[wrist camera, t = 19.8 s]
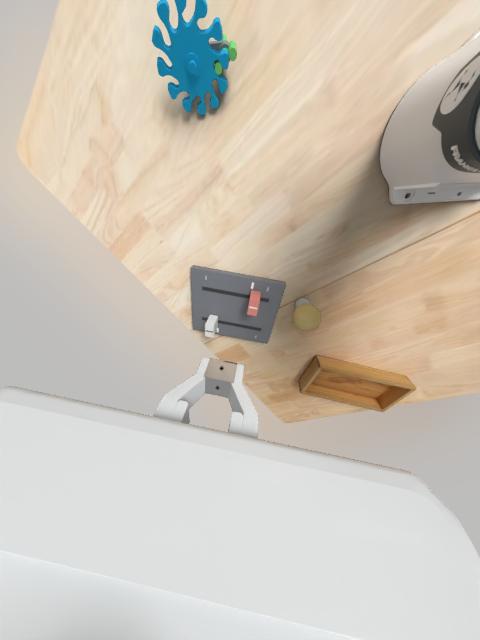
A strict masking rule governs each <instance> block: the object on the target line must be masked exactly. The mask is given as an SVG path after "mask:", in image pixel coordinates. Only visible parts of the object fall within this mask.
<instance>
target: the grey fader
mask: <svg viewBox="0 0 480 640" xmlns="http://www.w3.org/2000/svg"><path fill="white" fill-rule="evenodd" d="M217 326H218V316H216V315H210V316H209V318H208V320H207V322H206V324H205V336H206V337H211V338H213V337H214V335H215V332H216V330H217Z"/></svg>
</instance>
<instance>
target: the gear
mask: <svg viewBox="0 0 480 640" xmlns="http://www.w3.org/2000/svg"><path fill="white" fill-rule="evenodd" d="M175 3H176V6H177V11H178V27H177V29H173V28H172V26H171V25H170V22H169V5H168V2H167V0H160V1H159V2H158V3H157V12H158V15H159V17H160V19H161V20H162V22H163V23H164V25H165V26H166V28H167V31H168V33H169V37H170V40H171V45H170V46H167V45H166V44H165V42H164V40H163V36H162V33H161V30H160V29H159V27H158V26H156V25H155V27H154V29H153V36H152V42H153V44H154V45H155V47H157V48H159V49H161V50H162V51H163V52H165V54H166V55H167V56H168V58H169V59H170V61H171V62H172V66H171V67H169V66H168V65H167V64H166V63H165V61H164V60H163V59H162V58H161V57H158V59H157V67H158V72H159V75H160V76H162V77H164V76H166V75H170V76H173V77H174V78H176V79H177V80H178V81H179V85H175V84H174V83H172V82H170V83H169V84H168V91H169V93H170V95H171V97H172V99H176V97H177V95H178V94H179V93H180V92H183V91H187V92H188V93H189V95H190V96H189V97H185V98H184V99H183V107H184V109H185V110H186V111H187V112H190V111H191V104H192V101H193V99H194V98H195V97H196V96H199V97H200V98H201V101H200V102H199V103H198V113H199V114H201V115H205V114H206V106H205V103H204V97H205V93H206V92H207V91H208V92H210V93H211V99H210V102H211V107H212V109H214V108H217V107H218V106H219V100H218V97H217V95H216V94H215V92H214V90H213V86H212V81H213V79H216V80H217V81H218V83H219V90H220V92H221V93H222V94H223V93H224V92H225V91H226V89H227V86H228V83H227V79H226V78H225V77H223V76H221V75H220V74H221V73H222V68H223V69H225V70H226V69H227V68H228V64H229V61H230V60H231V61H234V60H235V59H236V56H237V51H236V44H235V42H234V41H231V42H230V43H228V42H227V37H226V35H223V36H222V26H221V22H220V19H219V18H218V17H216V18H215V19H214V21H213V23H212V25H211V26H210V27H209V28H208V29H205V30H201V29H199V27H198V25H197V21H198V19H199V18H204V17H205V16H206V14H207V3H206V0H196V5H195V12H194V15H193V17H192V19H191V20H190V22H188V23H187V22H185V21H184V19H183V16H182V12H183V11H184V9H185V7H186V0H175ZM211 37H213V38H214V39H215V40H217V41H213V42H209V39H210V38H211ZM214 64H215V66H214Z"/></svg>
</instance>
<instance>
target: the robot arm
mask: <svg viewBox="0 0 480 640" xmlns="http://www.w3.org/2000/svg"><path fill="white" fill-rule="evenodd" d="M380 165H381V170H382V173H383V175H384V177H385V179H386V181H387V182H388V185H389V199H390V202H391V203H392V204H394V205H397V204H414V203H430V202H447V201H464V200H478V199H480V28H479V29H478V30H477V31H476V32H475V33H474V34H473V35H472V36H471V38H470V39H469V40H468V41H467V42H466V43H465V44H464V45H463V46H462V47H461V48H460V49H458V50H457V51H456V52H454V53H453V54H451V55H450V56H448V57H446V58H445V59H443V60H442V61H440V62H439V63H437V64H436V65H434V66H433V67H432V68H430V69H429V70H428V71H427V72H426V73H425V74H424V75H422V76H421V77H420V78H419V79H418V80H417V81H416V82H415V84H414V85H413V86H412V87H411V88H410V89H409V91H408V92H407V93H406V94H405V96H404V97H403V98H402V100H401V101H400V103H399V104H398V106H397V108H396V109H395V111H394V113H393V115H392V117H391V118H390V121H389V123H388V125H387V128H386V130H385V133H384V136H383V140H382V144H381V150H380ZM407 193H408V197H407V198H405V195H406V194H407ZM243 372H244V365H243V364H238V363H233V362H228V361H221V360H217V359H212V358H208V357H203V358H202V361H201V363H200V365H199V368H198V370H197V372H196V375H193V376H191V377H190V378H188V379H187V380H186V381H184V382H183V383H181V384H180V385H179V386H178V387H176V388H175V389H173V390H172V391H170V392H169V393H168V394H166V395H165V396H164V397H163V399H162V401H161V403H160V405H159V406H158V408H157V410H156V412H155V414H154V415H153V416H149V415H144V414H140V413H135V412H130V411H125V410H121V409H116V408H112V407H107V406H102V405H98V404H93V403H88V402H83V401H79V400H74V399H69V398H65V397H60V396H56V395H51V394H46V393H42V392H37V391H32V390H28V389H23V388H18V387H12V386H11V387H4V388H0V640H480V556H479V555H478V553H477V551H476V549H475V548H474V546H473V544H472V542H471V541H470V539H469V537H468V535H467V534H466V532H465V530H464V529H463V527H462V525H461V524H460V522H459V521H458V519H457V518H456V516H455V515H454V514H453V512H452V511H451V510H450V509H449V508H448V507H447V506H446V504H444V502H442V500H441V499H440V498H439V497H438V496H437V495H436V494H435V493H434V492H433V491H432V490H430V488H429V487H428V486H427V485H426V484H425V483H424V482H423V481H421V480H420V479H419V478H418V477H417V476H416V475H414V474H413V473H411V472H408V471H405V470H401V469H396V468H391V467H386V466H382V465H377V464H373V463H368V462H363V461H359V460H354V459H349V458H345V457H340V456H335V455H330V454H326V453H321V452H317V451H312V450H307V449H302V448H298V447H293V446H289V445H284V444H279V443H275V442H270V441H265V440H260V439H257V437H258V414H257V412H256V410H255V408H254V406H253V404H252V402H251V400H250V398H249V396H248V394H247V392H246V389H245V387H244V385H242V379H243ZM205 393H208V394H213V395H218V396H223V397H226V398H229V402H230V405H231V408H232V411H233V413H232V416H231V421H230V425H229V429H228V432H224V431H219V430H214V429H210V428H205V427H200V426H195V425H191V424H189V422H190V420H189V409H190V408H191V407H192V406H193V405H194V404H195V403H196V402H197V401H198V400H199V399H200V398H201V397H202V396H203V395H204V394H205Z"/></svg>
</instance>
